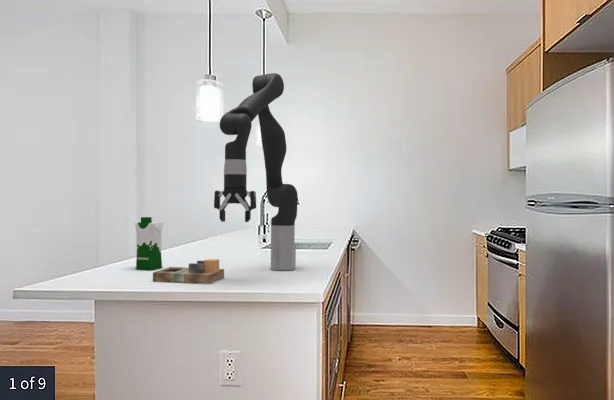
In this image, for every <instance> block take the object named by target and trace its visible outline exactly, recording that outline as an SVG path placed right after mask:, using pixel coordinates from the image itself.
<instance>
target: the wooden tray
mask: <svg viewBox="0 0 614 400" xmlns="http://www.w3.org/2000/svg"><path fill="white" fill-rule="evenodd" d="M221 278H222V279H224V278H225V268H219V271H218V272H216V273H210V272H204V260H197V261H196V262H195V263H192V262H191V263H188V267H183V266H169V267H166V268H164V269H163V268H162V269H161V270H157V271H153V272H152V282H153V281H154V282H153V283H155V282H156V283H157V282H158V283H179V284H197V283H211V284H213V283H215V282H217V281H216V280H218V281H220V280H221ZM219 279H220V280H219ZM214 281H215V282H214ZM212 282H213V283H212Z"/></svg>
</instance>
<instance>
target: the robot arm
mask: <svg viewBox="0 0 614 400" xmlns="http://www.w3.org/2000/svg"><path fill="white" fill-rule="evenodd" d="M251 84H252V85H251V86H252V94H251V95H248V96H247V97H246V98H245V99H244V100H242V101H241V103H239V104H238V106H236V107H234V108H232V109H231V110H228V111H227V112H225V113H224V114H223V115H222V116H221V118H220V121H219V128H220V132H222V134H224V135H227V136H236V138H235V139H234V140H233V141H229V142H227V143H226V144H225V146H224V165H223V190H215V191H214V200H213V208H214V209H217V210H218V211H219V221H221V222H222V223H223V222H224V223H225V222H226V210H225V209H226V208H227V207H228V205H231V204H236V205H237V204H241V206H242V207H243V208H244V210H245V211H244V222H245V223H249V221H251V219H252V218H251V214H252V213H251V211H253V210H255V209H257V195H256V194H257V192H256V191H255V190H250V191H248V190H247V178H248V177H247V173H248V172H247V171H248V169H247V146H248V141H249V138H250V133H251V131H252V126H253V125H252V122H253V121H254V120H255V119H256V117H258V121H259V122H258V123H259V129H260V138H261V145H262V146H261V147H262V152H263V160H264V168H265V178H266V179H265V183H266V186H265V187H266V197H267V201H268V203H269V204H270V206H272V207H274V208H278V211H277V214H276V215H273V217H271V219H270V270H273V271H294V270H295V269H297V268H296V267H297V265H296V263H297V262H296V258H297V257H296V255H297V253H296V251H297V244H295V239H296V238H295V235H296V234H295V232H296V231H295V230H296V229H295V227H296V224H295V223H296V222H295V221H296V219H297V216H298V200H299V199H298V198H299V197H298V190H297V188H296V186H294V185H293V184H291V183H283V176H282V169H283V165H284V164H283V163H284V161H285V157H286V153H287V141H286V140H287V139H286V134H285V133H286V132H285V131H284V129H283V127H282V126H281V124H280V123H279V122H278V121H277V119H276V118H275V117H274V116H273V113H272V112H271V109H270V106H269V105H270V104H271V103H273V102H274V101H275V100H277V99H278V98H280V97H282V95H283V93H284V89H285V83H284V80H283V77H282V76H281V75H280V74H279V73H276V72H273V73H266V74H260V75H256V76H254V77H253V79H252V83H251ZM222 197H224V200H223V201H222V202H221V198H222ZM246 197H248V198H250V203H248V201H247V199H246Z"/></svg>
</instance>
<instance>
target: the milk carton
mask: <svg viewBox="0 0 614 400" xmlns="http://www.w3.org/2000/svg"><path fill="white" fill-rule="evenodd" d="M134 226H135V231H136V259H135V261H136V262H135V269H136V270H139V271H155V270H159V269H163V264H162V263H163V261H162V233H163V232H162V231H163V226H164V222H161V221H158V222H157V221H153V218H152V217H151V216H141V217H140V221H139V222H138V221H137V222H135V223H134Z"/></svg>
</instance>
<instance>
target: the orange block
mask: <svg viewBox="0 0 614 400" xmlns="http://www.w3.org/2000/svg"><path fill="white" fill-rule="evenodd" d="M203 261H204V272H210V273H216V272H218V271H219V269H220V259H218V258H216V259H215V258H207V259H204V260H203Z"/></svg>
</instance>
